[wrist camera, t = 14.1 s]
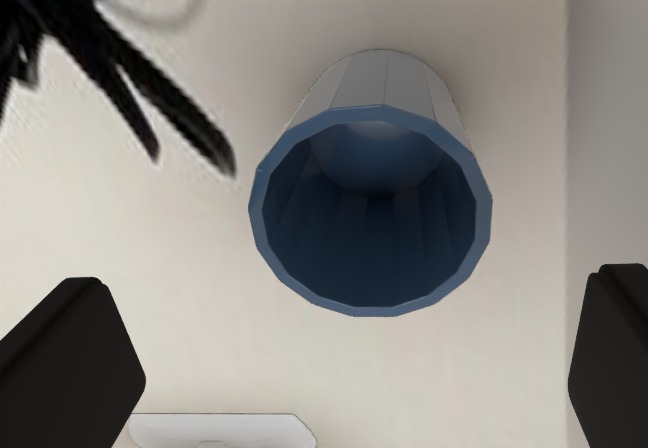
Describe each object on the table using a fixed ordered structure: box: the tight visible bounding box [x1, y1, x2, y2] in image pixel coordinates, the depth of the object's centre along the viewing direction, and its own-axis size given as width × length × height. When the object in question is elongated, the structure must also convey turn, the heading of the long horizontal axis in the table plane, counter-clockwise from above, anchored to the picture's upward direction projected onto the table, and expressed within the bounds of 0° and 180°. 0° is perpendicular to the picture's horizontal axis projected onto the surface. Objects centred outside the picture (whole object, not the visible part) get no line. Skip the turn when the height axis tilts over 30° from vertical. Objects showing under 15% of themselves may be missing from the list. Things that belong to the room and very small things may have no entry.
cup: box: [248, 49, 493, 317], centre depth 16 cm, size 6×6×8 cm
